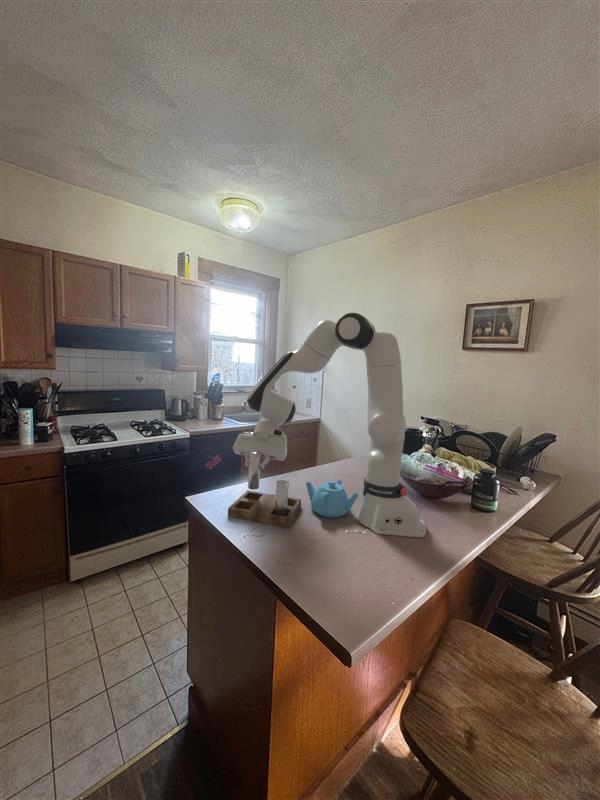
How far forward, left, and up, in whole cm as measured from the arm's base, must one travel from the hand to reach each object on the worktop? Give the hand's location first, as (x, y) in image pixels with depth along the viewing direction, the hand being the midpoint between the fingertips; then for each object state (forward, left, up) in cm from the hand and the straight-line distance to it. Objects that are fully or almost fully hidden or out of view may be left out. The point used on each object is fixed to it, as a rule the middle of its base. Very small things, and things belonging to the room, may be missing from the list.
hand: (254, 466), depth 115 cm
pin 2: (-13, +7, -14) cm, 21 cm away
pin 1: (0, -1, -8) cm, 8 cm away
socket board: (-7, +3, -14) cm, 16 cm away
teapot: (-28, -7, -14) cm, 32 cm away
